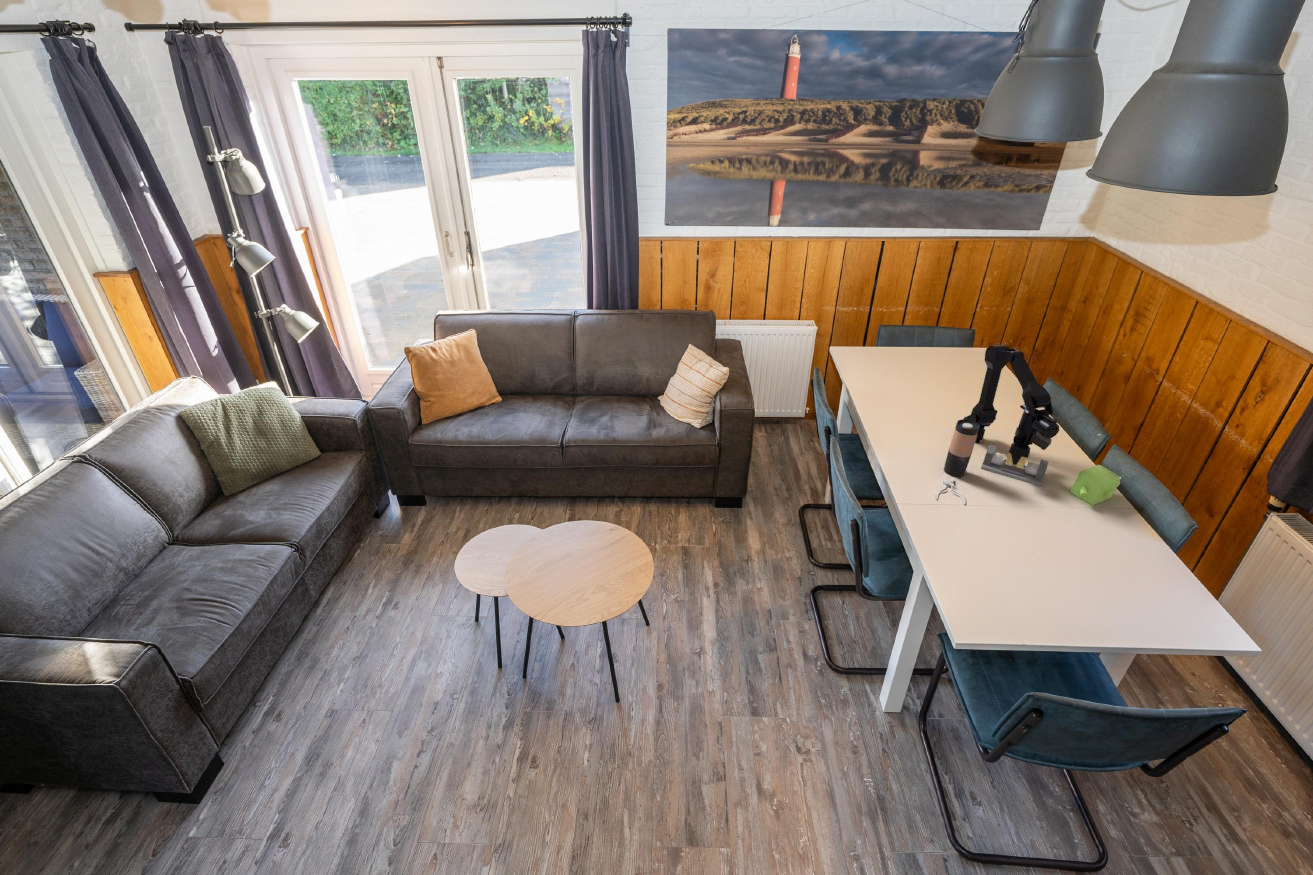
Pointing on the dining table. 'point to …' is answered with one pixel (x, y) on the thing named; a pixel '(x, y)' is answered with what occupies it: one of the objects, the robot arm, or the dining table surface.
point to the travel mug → (961, 447)
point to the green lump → (1095, 484)
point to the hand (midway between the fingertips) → (1015, 461)
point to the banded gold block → (1019, 464)
